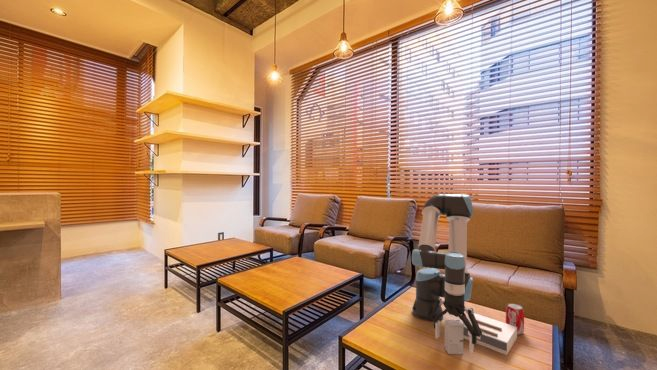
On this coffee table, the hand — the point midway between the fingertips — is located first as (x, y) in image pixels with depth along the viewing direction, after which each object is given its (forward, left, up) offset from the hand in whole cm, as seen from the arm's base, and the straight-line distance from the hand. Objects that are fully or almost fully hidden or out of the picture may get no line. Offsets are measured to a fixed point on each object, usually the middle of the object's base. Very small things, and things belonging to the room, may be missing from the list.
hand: (453, 343), depth 114 cm
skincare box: (0, 0, -3) cm, 3 cm away
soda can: (+14, +35, -3) cm, 38 cm away
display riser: (+7, +21, -3) cm, 23 cm away
